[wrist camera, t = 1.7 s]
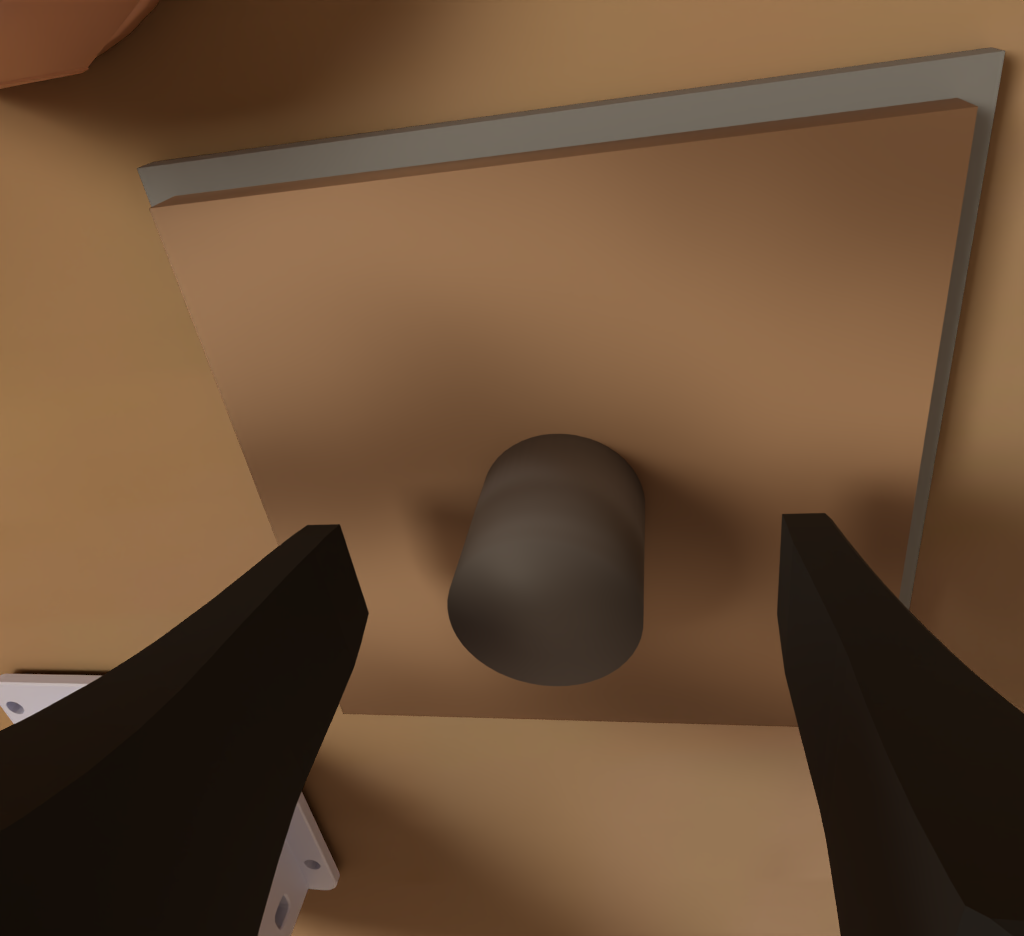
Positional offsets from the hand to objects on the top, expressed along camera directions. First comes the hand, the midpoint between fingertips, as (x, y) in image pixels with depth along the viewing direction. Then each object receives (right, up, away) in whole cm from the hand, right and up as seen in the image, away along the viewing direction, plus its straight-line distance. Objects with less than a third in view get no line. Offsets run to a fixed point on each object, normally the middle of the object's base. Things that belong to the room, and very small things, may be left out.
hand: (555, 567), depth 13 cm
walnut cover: (0, +1, +2) cm, 3 cm away
